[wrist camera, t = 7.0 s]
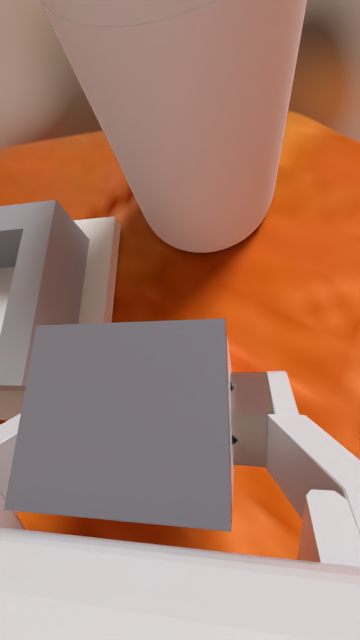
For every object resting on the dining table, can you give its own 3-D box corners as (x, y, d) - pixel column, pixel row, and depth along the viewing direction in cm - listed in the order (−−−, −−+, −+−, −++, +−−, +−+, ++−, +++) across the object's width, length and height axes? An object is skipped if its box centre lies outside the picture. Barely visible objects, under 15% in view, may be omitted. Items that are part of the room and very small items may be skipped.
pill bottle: (121, 210, 19) (-202, -361, 5) (207, 133, 20) (137, -564, 6) (204, 284, 16) (16, -510, 2) (301, 192, 17) (620, -864, 3)
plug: (232, 377, 13) (224, 318, 5) (235, 448, 12) (230, 531, 4) (158, 377, 14) (36, 325, 5) (156, 445, 13) (3, 509, 4)
